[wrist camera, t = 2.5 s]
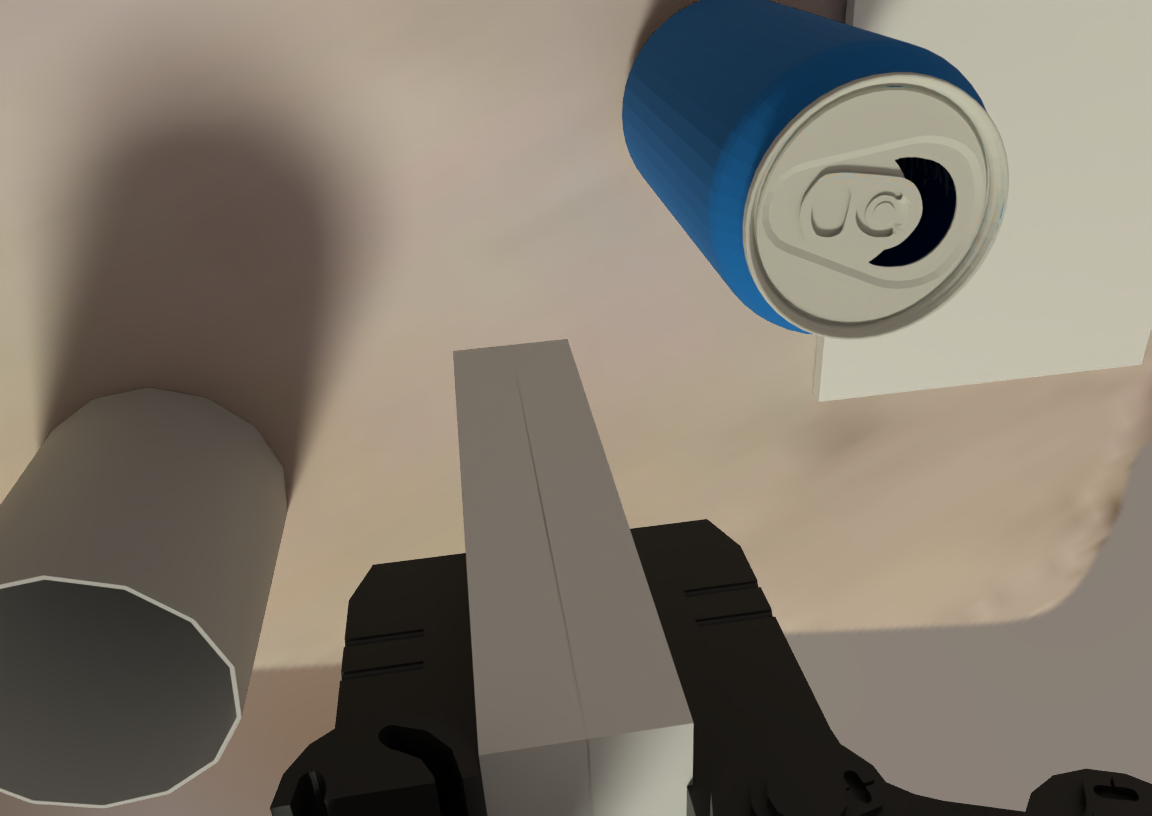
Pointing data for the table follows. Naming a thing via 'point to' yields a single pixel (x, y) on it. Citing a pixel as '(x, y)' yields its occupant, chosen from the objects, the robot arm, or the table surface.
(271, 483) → the cup
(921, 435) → the table surface
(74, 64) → the table surface
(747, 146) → the beverage can
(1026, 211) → the flat white box
